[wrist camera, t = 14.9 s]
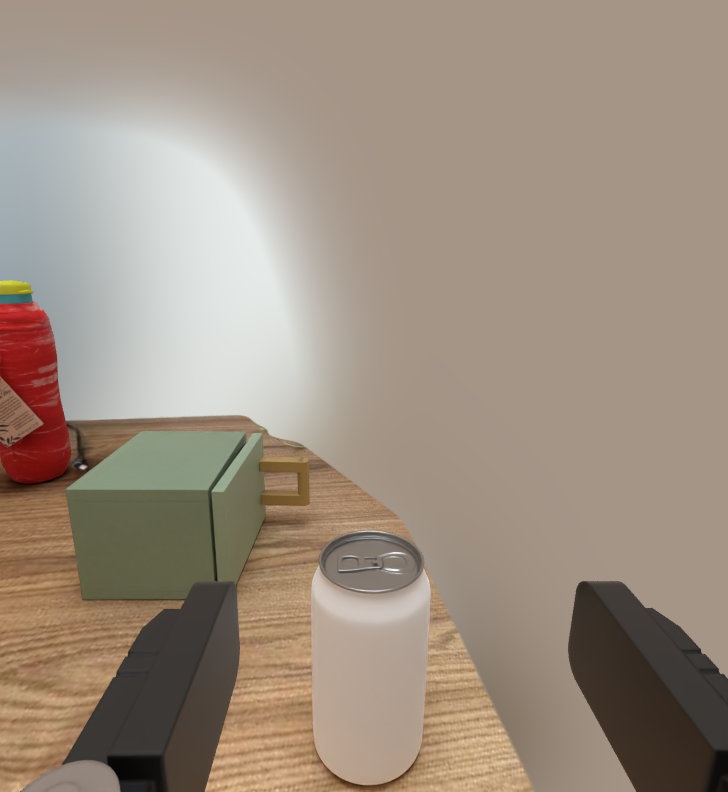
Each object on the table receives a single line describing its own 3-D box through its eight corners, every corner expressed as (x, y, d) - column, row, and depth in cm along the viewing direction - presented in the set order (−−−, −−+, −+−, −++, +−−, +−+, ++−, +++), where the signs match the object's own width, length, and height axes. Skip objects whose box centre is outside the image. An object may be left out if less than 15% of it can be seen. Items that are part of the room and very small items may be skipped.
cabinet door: (311, 516, 54) (310, 434, 51) (291, 599, 40) (288, 492, 38) (256, 515, 54) (253, 433, 51) (218, 597, 40) (211, 491, 38)
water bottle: (31, 503, 56) (-9, 282, 50) (-36, 501, 56) (-84, 281, 50) (91, 463, 68) (65, 280, 61) (35, 461, 68) (4, 279, 62)
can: (432, 788, 26) (445, 595, 23) (310, 795, 25) (307, 599, 22) (412, 687, 32) (420, 525, 29) (314, 691, 32) (312, 527, 29)
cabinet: (250, 516, 54) (245, 431, 51) (215, 599, 40) (207, 489, 38) (150, 516, 53) (141, 431, 51) (82, 600, 40) (65, 489, 37)
